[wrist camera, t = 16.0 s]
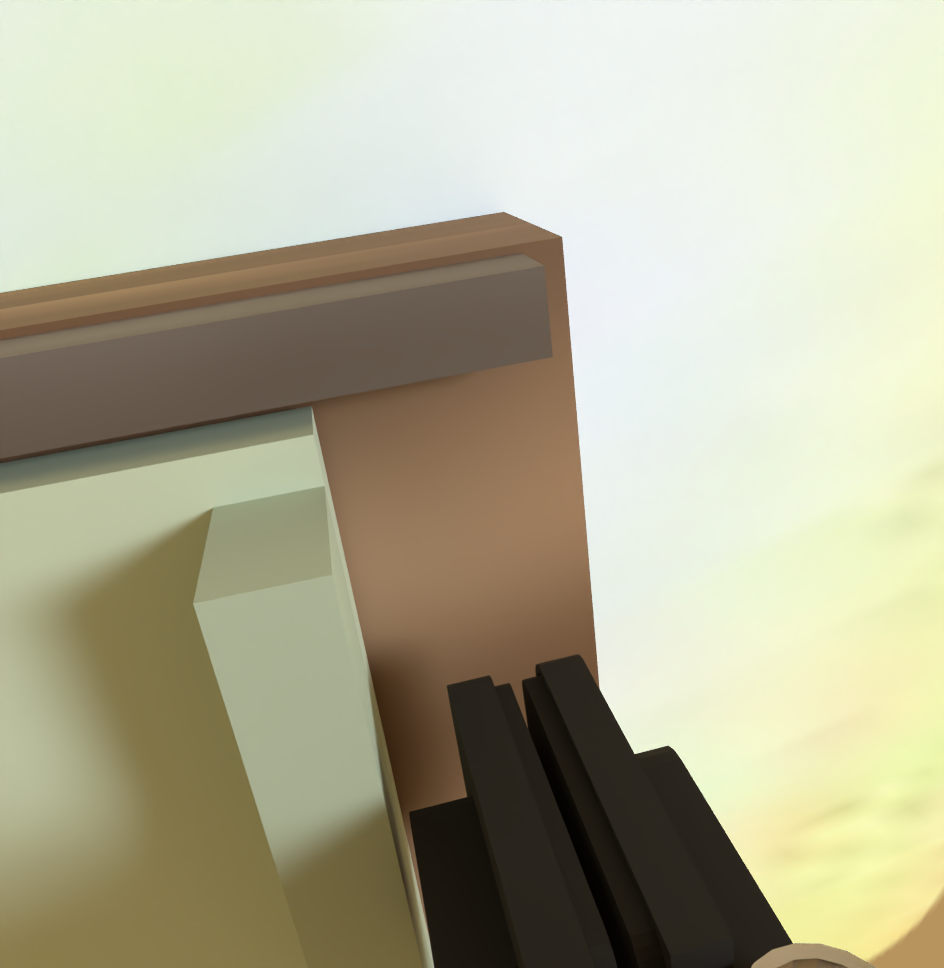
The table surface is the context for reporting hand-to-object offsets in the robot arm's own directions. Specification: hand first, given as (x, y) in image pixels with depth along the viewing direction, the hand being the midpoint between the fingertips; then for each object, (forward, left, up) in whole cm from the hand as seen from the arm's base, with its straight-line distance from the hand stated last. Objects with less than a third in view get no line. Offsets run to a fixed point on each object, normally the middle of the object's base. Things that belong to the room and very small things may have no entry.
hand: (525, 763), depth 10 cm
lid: (0, -6, -2) cm, 6 cm away
